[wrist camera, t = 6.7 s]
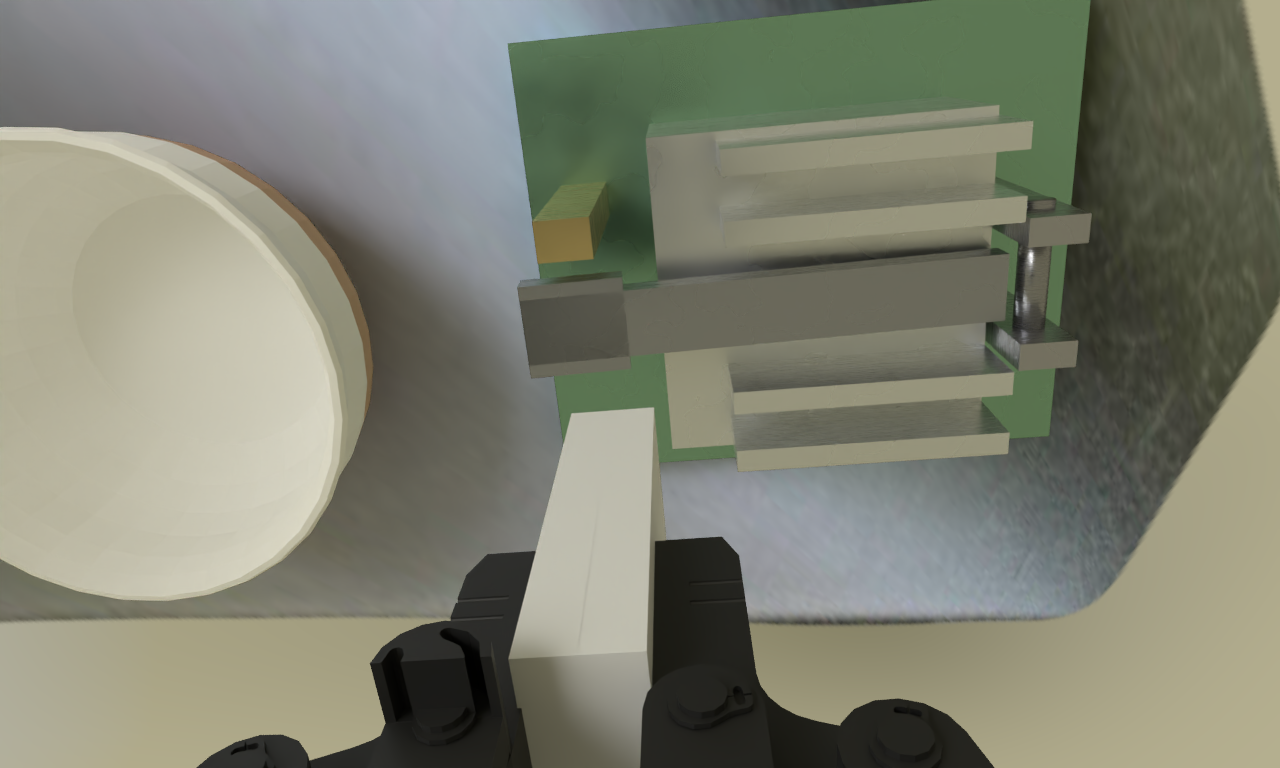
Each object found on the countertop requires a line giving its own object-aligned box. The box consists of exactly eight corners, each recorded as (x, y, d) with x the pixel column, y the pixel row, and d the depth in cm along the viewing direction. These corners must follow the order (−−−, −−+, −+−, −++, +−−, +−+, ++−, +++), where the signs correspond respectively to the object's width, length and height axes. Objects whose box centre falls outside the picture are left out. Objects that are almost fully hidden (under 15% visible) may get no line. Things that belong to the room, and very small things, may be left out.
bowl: (-19, 85, 31) (-237, 95, 23) (417, 135, 31) (338, 161, 23) (49, 472, 36) (-108, 578, 29) (414, 512, 37) (350, 628, 29)
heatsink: (570, 452, 35) (540, 575, 27) (515, 44, 29) (455, 40, 21) (1033, 420, 34) (1150, 538, 26) (1070, -13, 28) (1238, -40, 20)
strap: (533, 369, 26) (531, 378, 25) (520, 280, 25) (517, 287, 24) (992, 325, 26) (1004, 333, 25) (998, 234, 24) (1010, 240, 24)
